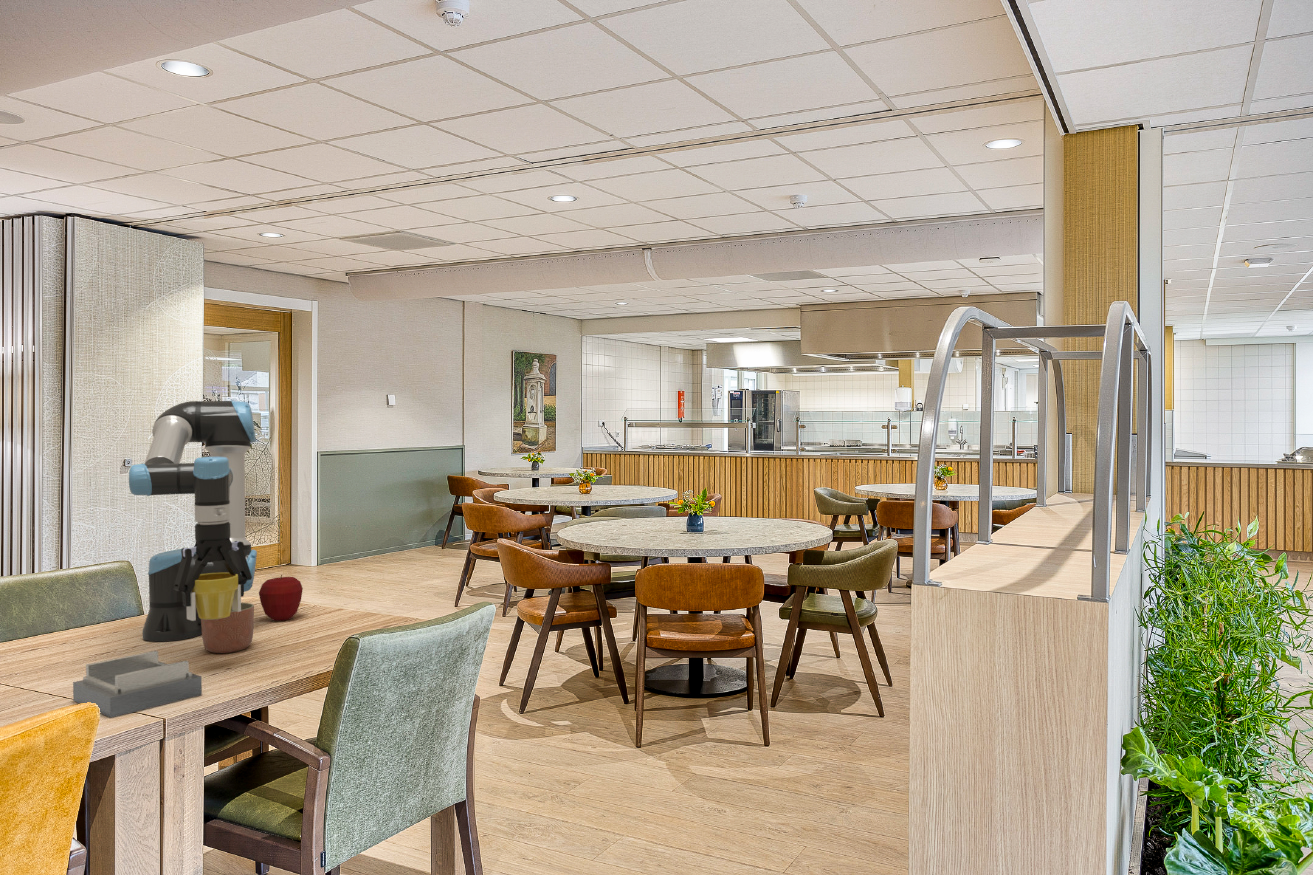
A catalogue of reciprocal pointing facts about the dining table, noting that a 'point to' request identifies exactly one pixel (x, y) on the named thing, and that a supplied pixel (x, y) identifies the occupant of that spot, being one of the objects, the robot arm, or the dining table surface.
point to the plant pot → (215, 595)
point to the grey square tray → (135, 684)
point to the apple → (281, 597)
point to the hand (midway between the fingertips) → (214, 615)
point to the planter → (229, 631)
